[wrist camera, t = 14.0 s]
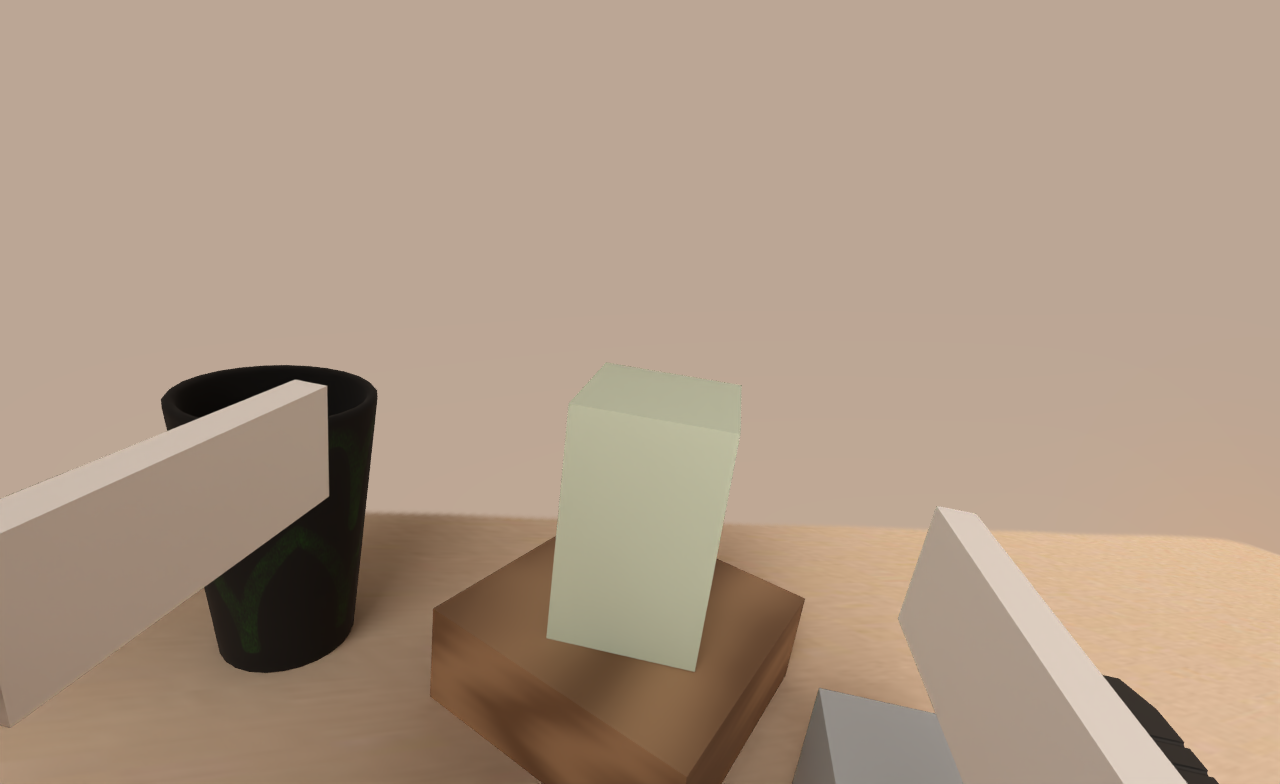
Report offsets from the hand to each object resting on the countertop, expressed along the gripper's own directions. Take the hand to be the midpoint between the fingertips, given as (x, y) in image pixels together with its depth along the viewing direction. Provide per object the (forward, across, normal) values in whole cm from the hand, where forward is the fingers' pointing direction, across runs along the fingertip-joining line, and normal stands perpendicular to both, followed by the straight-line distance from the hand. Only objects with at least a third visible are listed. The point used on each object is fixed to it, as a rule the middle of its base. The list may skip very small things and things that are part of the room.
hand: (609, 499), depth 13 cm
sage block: (+11, 0, -11) cm, 15 cm away
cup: (+10, -16, -16) cm, 24 cm away
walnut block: (+11, 0, -16) cm, 20 cm away
